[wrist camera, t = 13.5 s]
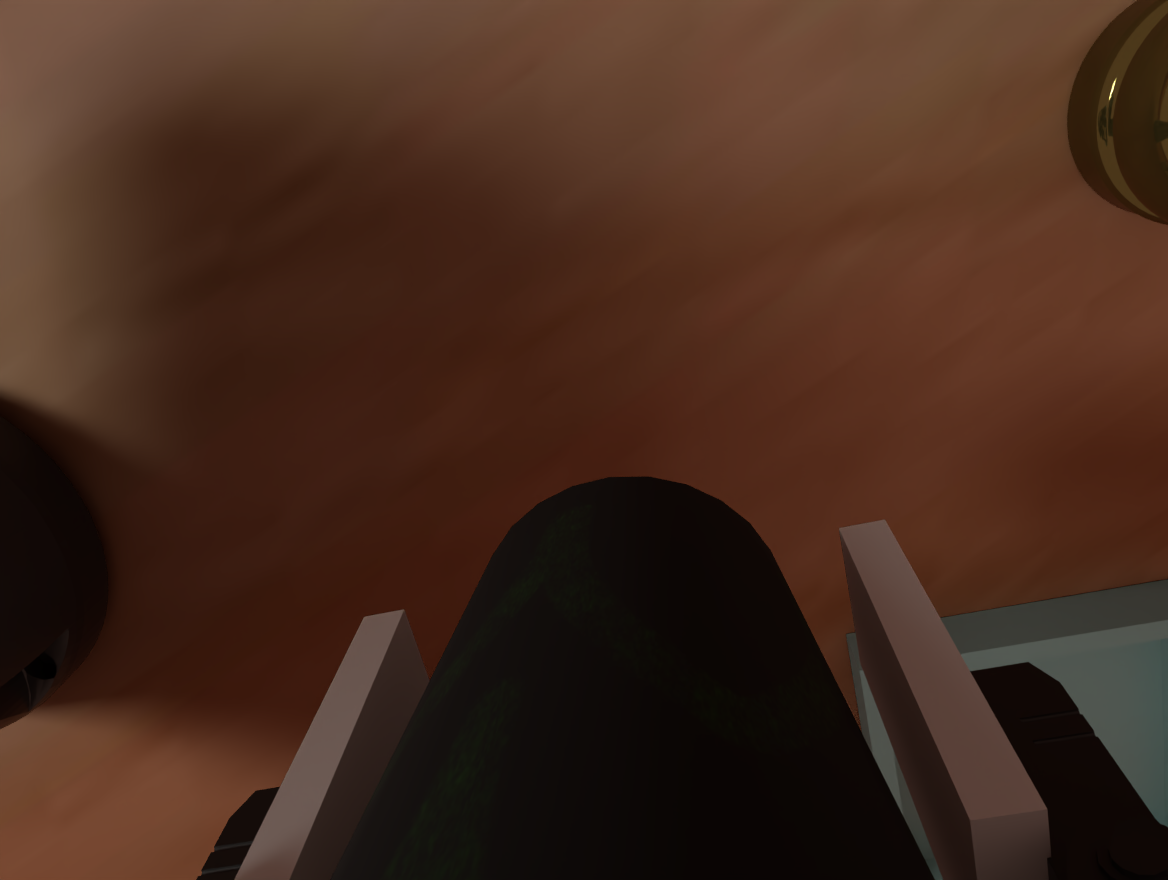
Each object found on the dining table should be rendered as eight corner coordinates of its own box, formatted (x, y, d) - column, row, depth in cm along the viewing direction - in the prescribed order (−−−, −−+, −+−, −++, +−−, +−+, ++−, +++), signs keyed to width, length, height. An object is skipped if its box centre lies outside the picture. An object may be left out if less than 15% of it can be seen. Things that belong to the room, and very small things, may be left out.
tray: (845, 634, 38) (859, 670, 36) (1173, 578, 36) (1209, 612, 34) (884, 868, 42) (898, 914, 40) (1178, 827, 41) (1211, 873, 38)
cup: (491, 356, 15) (116, 1103, 4) (919, 499, 16) (1583, 1494, 5) (380, 717, 18) (-22, 1742, 7) (748, 828, 19) (918, 1943, 8)
